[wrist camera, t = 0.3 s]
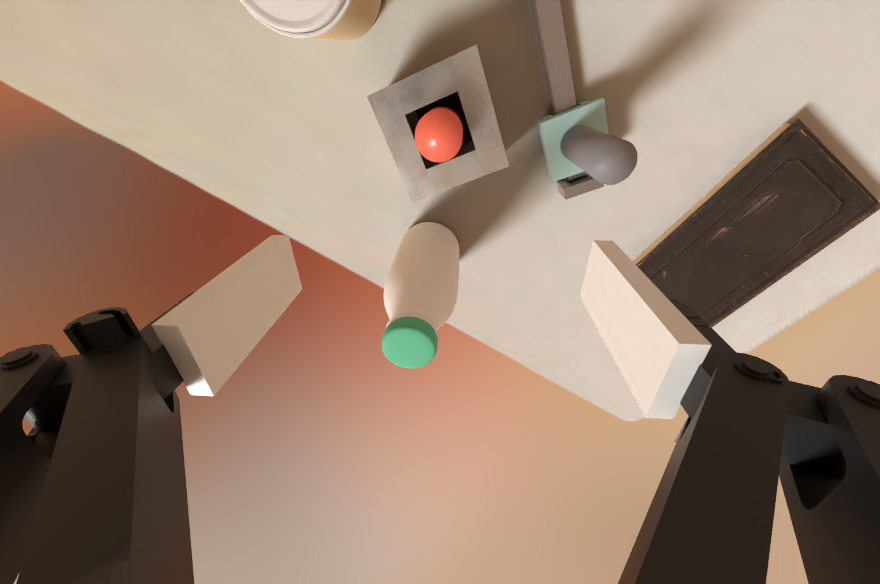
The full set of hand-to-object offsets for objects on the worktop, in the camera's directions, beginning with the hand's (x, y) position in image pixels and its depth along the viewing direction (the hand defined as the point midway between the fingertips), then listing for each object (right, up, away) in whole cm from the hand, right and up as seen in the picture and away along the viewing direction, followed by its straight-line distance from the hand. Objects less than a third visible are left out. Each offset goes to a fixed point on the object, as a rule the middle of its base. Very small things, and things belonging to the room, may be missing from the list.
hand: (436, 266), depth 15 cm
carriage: (+14, +15, +21) cm, 30 cm away
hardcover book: (+36, +5, +27) cm, 45 cm away
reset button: (0, +15, +18) cm, 24 cm away
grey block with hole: (+1, +17, +22) cm, 28 cm away
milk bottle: (-1, +5, +30) cm, 30 cm away
